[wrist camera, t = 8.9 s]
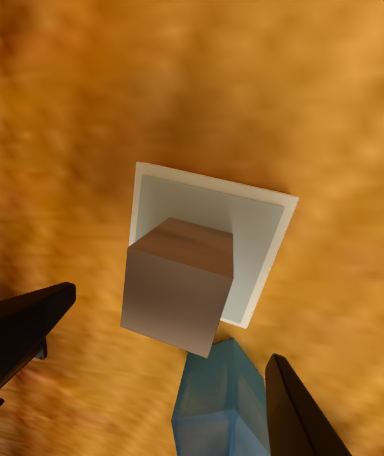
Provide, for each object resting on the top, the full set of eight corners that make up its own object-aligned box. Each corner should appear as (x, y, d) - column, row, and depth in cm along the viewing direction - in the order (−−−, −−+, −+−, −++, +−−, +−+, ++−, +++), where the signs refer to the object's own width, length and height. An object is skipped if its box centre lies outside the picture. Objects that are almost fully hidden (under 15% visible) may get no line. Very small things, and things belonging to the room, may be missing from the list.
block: (216, 288, 15) (207, 358, 9) (160, 271, 16) (120, 326, 10) (233, 233, 13) (233, 278, 8) (169, 217, 14) (127, 247, 8)
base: (245, 312, 18) (246, 333, 16) (135, 277, 20) (121, 291, 17) (290, 194, 14) (302, 198, 12) (147, 162, 16) (132, 161, 13)
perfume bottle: (263, 378, 20) (301, 640, 9) (216, 390, 22) (199, 613, 11) (233, 337, 19) (234, 567, 8) (187, 353, 21) (138, 552, 10)
